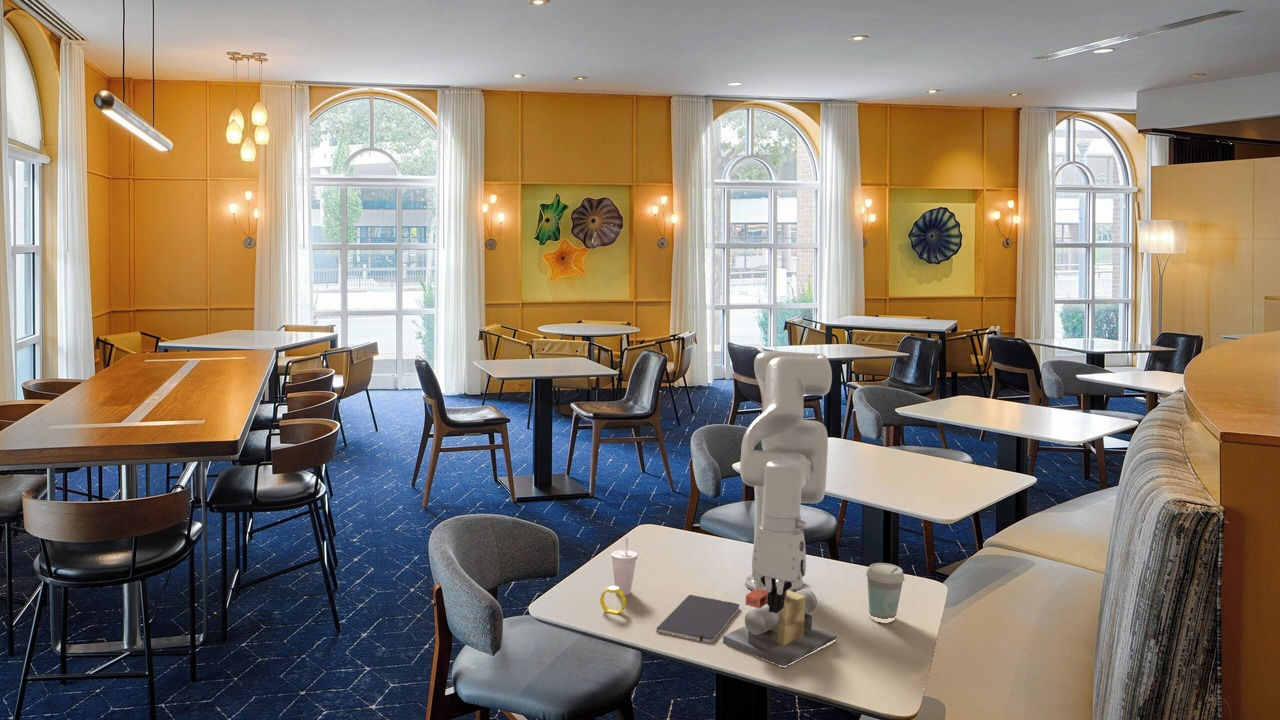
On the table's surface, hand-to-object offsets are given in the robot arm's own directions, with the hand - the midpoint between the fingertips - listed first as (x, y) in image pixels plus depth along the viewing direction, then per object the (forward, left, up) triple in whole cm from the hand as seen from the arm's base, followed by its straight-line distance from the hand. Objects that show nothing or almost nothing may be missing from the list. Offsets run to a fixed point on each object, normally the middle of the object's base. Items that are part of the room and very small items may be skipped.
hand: (775, 610), depth 188 cm
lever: (-4, -5, +1) cm, 6 cm away
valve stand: (-10, -6, -12) cm, 17 cm away
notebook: (-6, -25, -13) cm, 28 cm away
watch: (+6, -41, -12) cm, 43 cm away
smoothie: (-4, -48, -12) cm, 49 cm away
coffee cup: (-39, +2, -12) cm, 41 cm away
